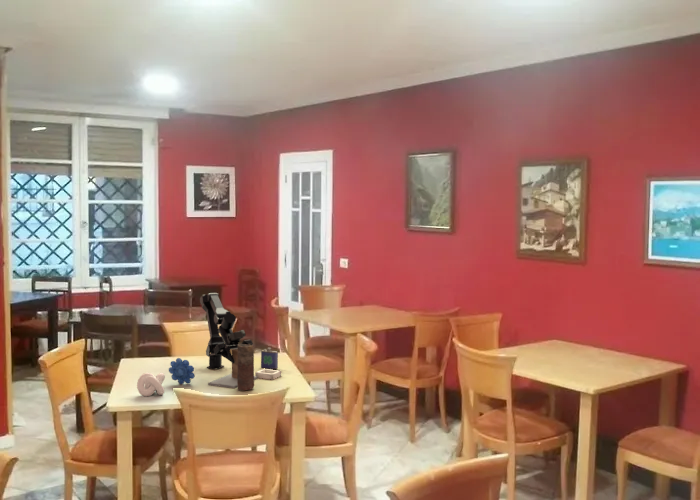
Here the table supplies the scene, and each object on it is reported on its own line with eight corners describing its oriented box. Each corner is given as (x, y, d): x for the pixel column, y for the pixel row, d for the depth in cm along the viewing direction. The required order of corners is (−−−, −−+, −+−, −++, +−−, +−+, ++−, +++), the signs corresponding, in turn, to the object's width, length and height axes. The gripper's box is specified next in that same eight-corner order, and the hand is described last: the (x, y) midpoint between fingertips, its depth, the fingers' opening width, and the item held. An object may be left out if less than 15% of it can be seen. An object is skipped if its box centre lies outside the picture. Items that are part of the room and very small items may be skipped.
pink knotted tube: (149, 389, 306) (149, 369, 305) (173, 392, 302) (173, 371, 302) (133, 396, 295) (133, 375, 294) (158, 398, 291) (158, 377, 291)
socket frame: (264, 373, 337) (264, 368, 337) (281, 375, 334) (281, 370, 333) (255, 377, 329) (255, 372, 329) (272, 379, 326) (272, 374, 326)
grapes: (166, 386, 311) (166, 360, 310) (169, 382, 317) (169, 356, 317) (193, 386, 312) (193, 360, 311) (195, 382, 318) (195, 356, 318)
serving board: (232, 375, 333) (232, 373, 333) (257, 378, 328) (257, 376, 328) (208, 384, 315) (208, 382, 315) (234, 388, 310) (234, 386, 310)
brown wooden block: (238, 375, 329) (238, 348, 328) (245, 377, 325) (245, 350, 324) (231, 377, 326) (231, 349, 325) (238, 379, 322) (238, 351, 322)
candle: (237, 386, 312) (238, 342, 311) (254, 386, 313) (254, 342, 312) (236, 391, 305) (236, 346, 303) (253, 391, 305) (253, 346, 304)
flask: (278, 368, 348) (278, 347, 347) (275, 370, 345) (275, 348, 345) (262, 367, 351) (262, 346, 351) (259, 368, 349) (259, 347, 348)
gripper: (217, 326, 321) (229, 354, 313) (250, 322, 333) (264, 349, 326) (208, 341, 327) (220, 368, 319) (241, 336, 339) (254, 362, 332)
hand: (240, 361), depth 324 cm, fingers open, 7 cm apart
